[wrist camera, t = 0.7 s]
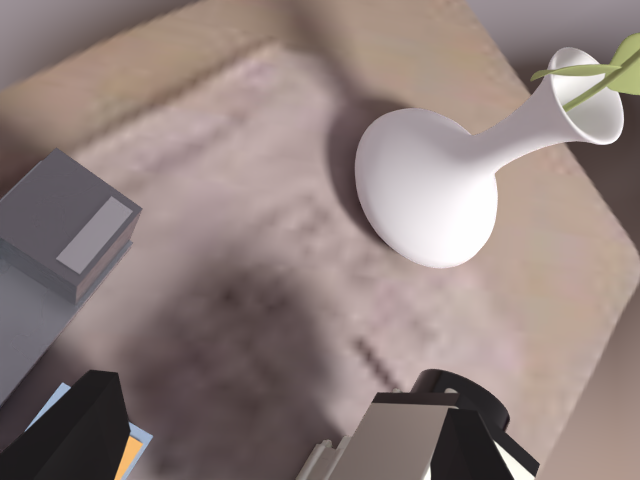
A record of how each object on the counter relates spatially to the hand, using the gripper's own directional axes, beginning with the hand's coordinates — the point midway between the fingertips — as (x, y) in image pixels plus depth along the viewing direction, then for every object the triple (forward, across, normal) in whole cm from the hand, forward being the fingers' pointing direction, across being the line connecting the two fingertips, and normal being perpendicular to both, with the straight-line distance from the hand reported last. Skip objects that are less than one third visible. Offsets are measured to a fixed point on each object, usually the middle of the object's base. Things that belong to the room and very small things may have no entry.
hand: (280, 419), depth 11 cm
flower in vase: (+24, -5, +7) cm, 26 cm away
